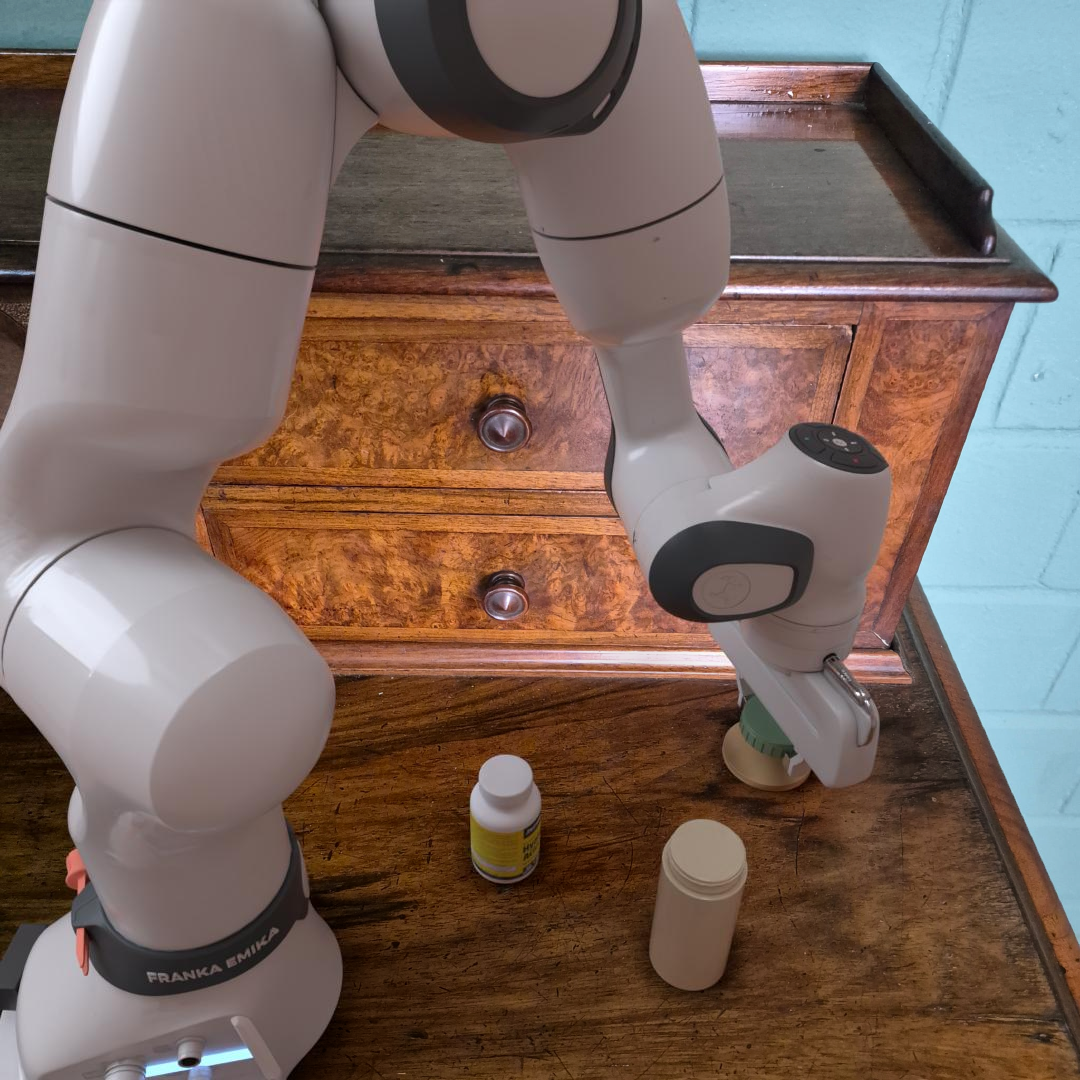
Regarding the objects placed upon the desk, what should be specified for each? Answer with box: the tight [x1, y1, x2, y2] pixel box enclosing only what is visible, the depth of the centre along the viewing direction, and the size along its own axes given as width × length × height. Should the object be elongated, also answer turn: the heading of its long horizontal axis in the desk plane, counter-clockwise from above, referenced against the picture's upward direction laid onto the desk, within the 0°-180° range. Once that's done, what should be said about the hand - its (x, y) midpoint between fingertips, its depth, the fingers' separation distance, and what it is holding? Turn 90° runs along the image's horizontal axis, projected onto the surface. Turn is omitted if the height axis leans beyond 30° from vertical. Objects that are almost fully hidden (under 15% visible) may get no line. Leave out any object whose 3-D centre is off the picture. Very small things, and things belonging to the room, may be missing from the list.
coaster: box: [721, 721, 812, 792], centre depth 84 cm, size 8×8×1 cm
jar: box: [648, 818, 749, 992], centre depth 65 cm, size 6×6×12 cm
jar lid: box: [739, 695, 795, 758], centre depth 81 cm, size 6×6×2 cm
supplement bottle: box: [469, 754, 542, 884], centre depth 72 cm, size 5×5×10 cm
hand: (771, 738), depth 82 cm, fingers closed on jar lid, 6 cm apart
